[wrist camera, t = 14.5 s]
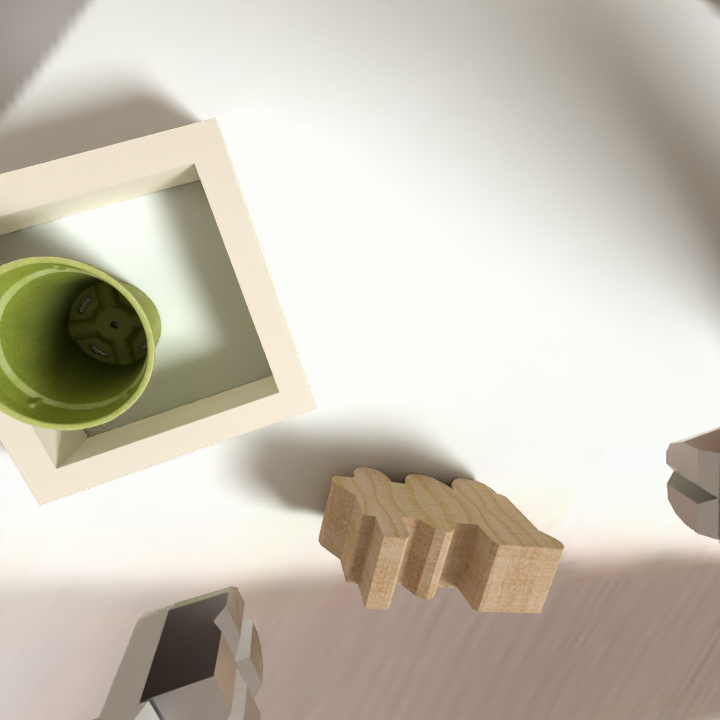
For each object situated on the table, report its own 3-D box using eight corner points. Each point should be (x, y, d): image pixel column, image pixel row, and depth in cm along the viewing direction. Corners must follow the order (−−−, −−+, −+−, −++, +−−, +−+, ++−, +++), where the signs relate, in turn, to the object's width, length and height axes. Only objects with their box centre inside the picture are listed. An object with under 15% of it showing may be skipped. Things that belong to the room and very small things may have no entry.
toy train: (327, 462, 37) (347, 534, 27) (500, 482, 41) (570, 551, 31) (315, 519, 38) (329, 607, 28) (484, 533, 42) (547, 615, 32)
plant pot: (17, 343, 30) (-80, 377, 22) (83, 228, 29) (8, 218, 21) (144, 407, 33) (101, 458, 24) (209, 303, 32) (186, 320, 24)
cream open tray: (224, 139, 30) (214, 117, 25) (310, 387, 35) (316, 408, 30) (-67, 217, 27) (-138, 210, 23) (73, 469, 33) (39, 505, 28)
